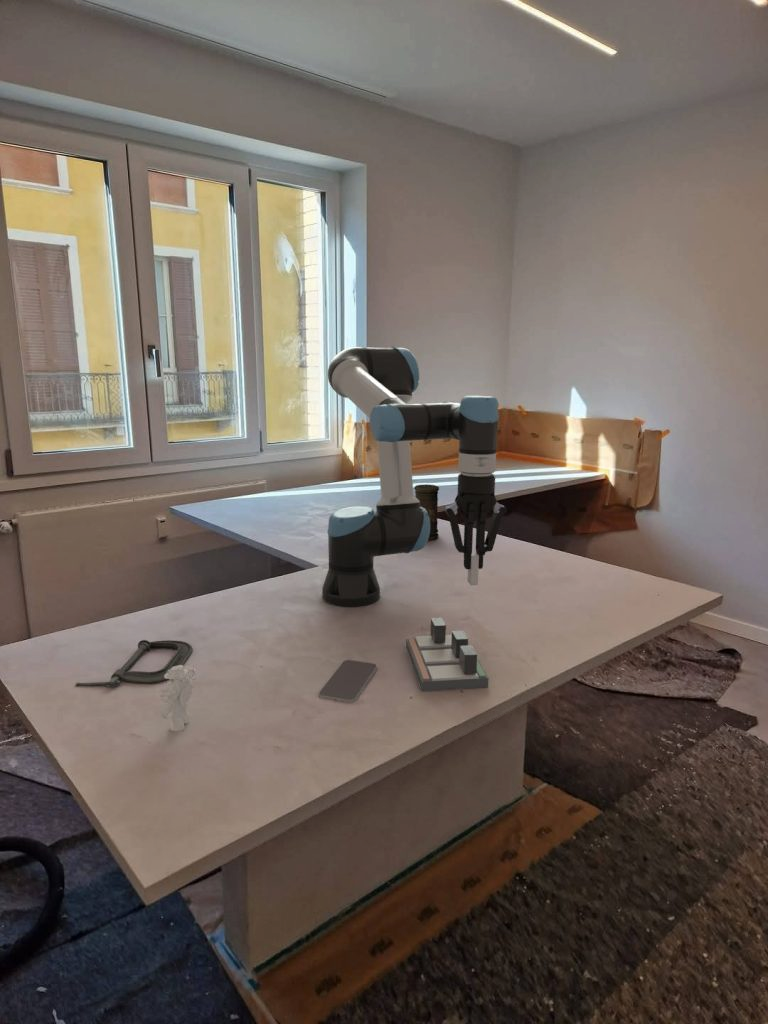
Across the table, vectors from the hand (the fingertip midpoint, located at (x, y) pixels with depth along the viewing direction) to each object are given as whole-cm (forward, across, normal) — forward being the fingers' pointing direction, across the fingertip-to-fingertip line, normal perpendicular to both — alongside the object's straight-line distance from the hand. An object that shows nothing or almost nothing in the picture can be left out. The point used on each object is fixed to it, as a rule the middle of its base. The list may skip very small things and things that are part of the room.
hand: (472, 583), depth 138 cm
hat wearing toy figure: (+16, -57, -23) cm, 63 cm away
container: (+15, +7, +87) cm, 89 cm away
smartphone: (+16, -27, -11) cm, 33 cm away
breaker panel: (+15, -7, -7) cm, 18 cm away
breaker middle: (+13, -4, -7) cm, 15 cm away
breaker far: (+13, -7, 0) cm, 14 cm away
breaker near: (+13, -4, -14) cm, 19 cm away
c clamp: (+16, -68, +1) cm, 70 cm away
